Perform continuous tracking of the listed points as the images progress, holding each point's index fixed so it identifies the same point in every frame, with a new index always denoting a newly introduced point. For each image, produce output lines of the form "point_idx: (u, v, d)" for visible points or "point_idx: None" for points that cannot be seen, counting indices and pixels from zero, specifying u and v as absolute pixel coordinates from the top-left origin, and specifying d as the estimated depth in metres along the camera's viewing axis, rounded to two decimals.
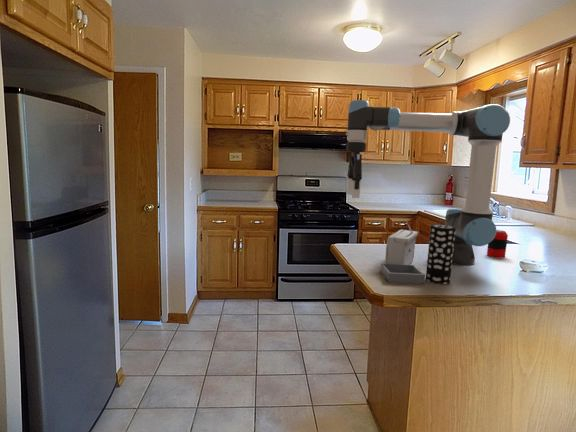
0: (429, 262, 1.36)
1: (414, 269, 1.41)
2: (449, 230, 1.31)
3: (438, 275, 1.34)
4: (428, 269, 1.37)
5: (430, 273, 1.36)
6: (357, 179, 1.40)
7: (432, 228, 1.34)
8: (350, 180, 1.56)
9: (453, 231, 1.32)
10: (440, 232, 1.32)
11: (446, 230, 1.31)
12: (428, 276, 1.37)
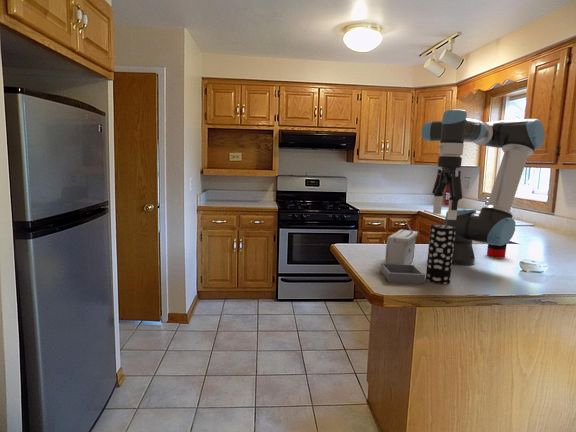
0: (429, 262, 1.36)
1: (414, 269, 1.41)
2: (449, 230, 1.31)
3: (438, 275, 1.34)
4: (428, 269, 1.37)
5: (430, 273, 1.36)
6: (456, 199, 1.24)
7: (432, 228, 1.34)
8: (437, 198, 1.40)
9: (453, 231, 1.32)
10: (440, 232, 1.32)
11: (446, 230, 1.31)
12: (428, 276, 1.37)
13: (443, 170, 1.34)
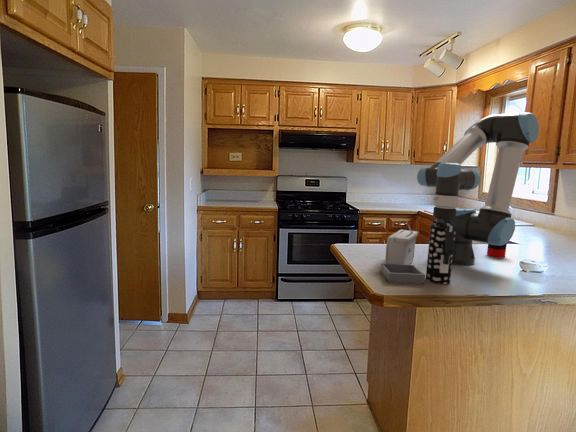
0: (429, 262, 1.36)
1: (414, 269, 1.41)
2: None
3: (438, 275, 1.34)
4: (428, 269, 1.37)
5: (430, 273, 1.36)
6: (448, 254, 1.29)
7: (432, 228, 1.34)
8: None
9: None
10: (440, 232, 1.32)
11: None
12: (428, 276, 1.37)
13: (438, 219, 1.37)
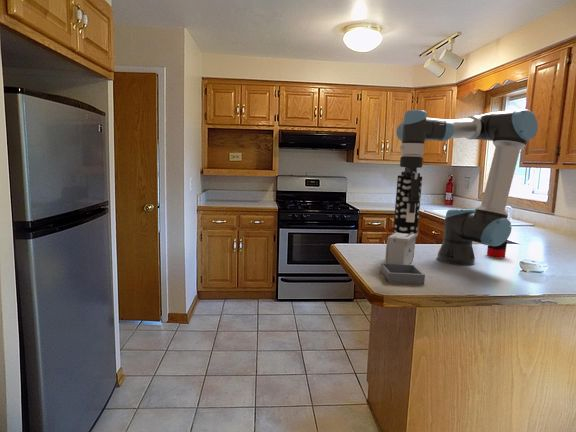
0: (396, 212, 1.34)
1: (414, 269, 1.41)
2: None
3: (404, 225, 1.32)
4: (395, 220, 1.35)
5: (397, 223, 1.34)
6: (413, 202, 1.28)
7: (399, 178, 1.33)
8: None
9: (419, 179, 1.30)
10: (406, 180, 1.30)
11: None
12: (395, 227, 1.35)
13: (405, 169, 1.35)
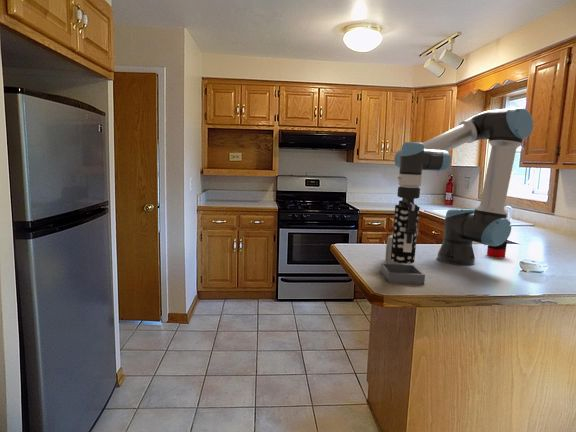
0: (393, 242, 1.36)
1: (414, 269, 1.41)
2: None
3: (402, 254, 1.34)
4: (392, 249, 1.37)
5: (394, 253, 1.36)
6: (410, 233, 1.29)
7: (396, 208, 1.34)
8: None
9: None
10: (403, 211, 1.32)
11: None
12: (392, 256, 1.37)
13: (403, 199, 1.37)
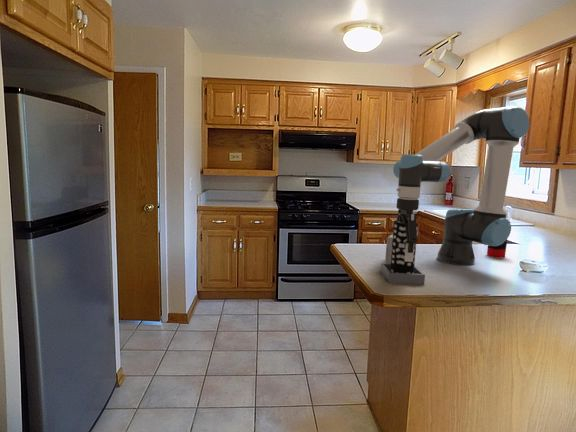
0: (392, 257, 1.37)
1: (414, 269, 1.41)
2: None
3: (401, 270, 1.35)
4: (391, 264, 1.38)
5: (393, 268, 1.37)
6: (412, 242, 1.28)
7: (395, 224, 1.35)
8: None
9: None
10: (402, 227, 1.33)
11: None
12: (392, 271, 1.38)
13: (402, 211, 1.37)
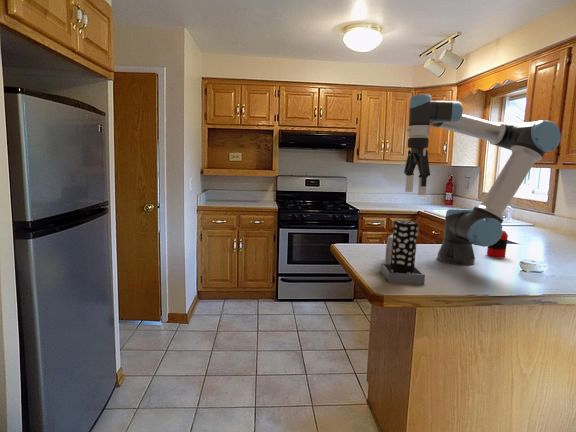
0: (392, 258, 1.37)
1: (414, 269, 1.41)
2: (411, 225, 1.32)
3: (401, 270, 1.35)
4: (392, 264, 1.38)
5: (393, 268, 1.37)
6: (425, 176, 1.36)
7: (395, 224, 1.35)
8: (409, 177, 1.52)
9: (415, 227, 1.33)
10: (402, 228, 1.33)
11: (408, 226, 1.32)
12: (392, 271, 1.38)
13: (412, 151, 1.46)
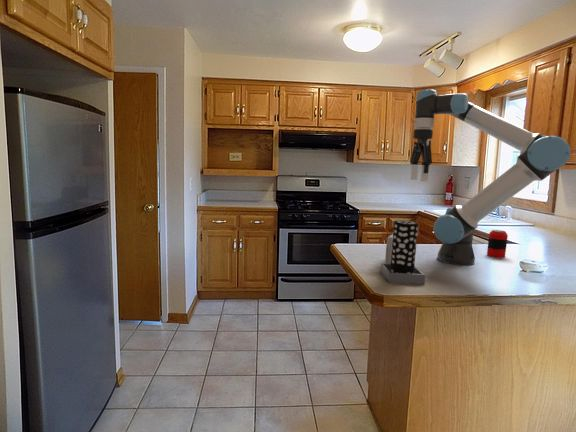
0: (392, 258, 1.37)
1: (414, 269, 1.41)
2: (411, 225, 1.32)
3: (401, 270, 1.35)
4: (392, 265, 1.38)
5: (393, 268, 1.37)
6: (427, 163, 1.50)
7: (395, 224, 1.35)
8: (414, 166, 1.66)
9: (415, 227, 1.33)
10: (402, 228, 1.33)
11: (408, 226, 1.32)
12: (392, 271, 1.38)
13: (418, 141, 1.60)
